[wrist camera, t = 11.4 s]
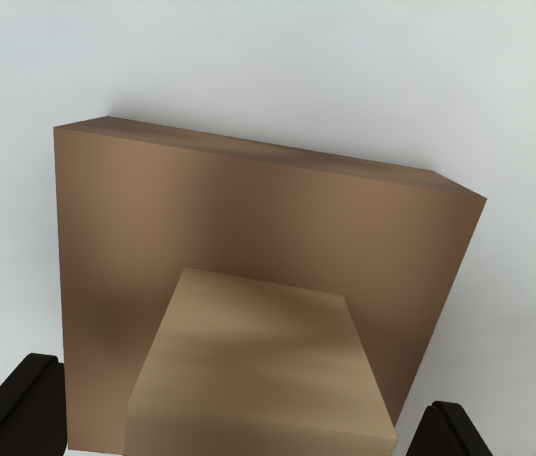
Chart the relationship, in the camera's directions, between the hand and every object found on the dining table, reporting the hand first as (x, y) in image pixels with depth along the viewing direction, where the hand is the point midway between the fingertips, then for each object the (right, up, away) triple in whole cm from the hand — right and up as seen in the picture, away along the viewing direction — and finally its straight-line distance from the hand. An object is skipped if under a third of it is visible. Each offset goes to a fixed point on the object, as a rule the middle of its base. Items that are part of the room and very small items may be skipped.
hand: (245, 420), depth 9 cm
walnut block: (0, +3, +6) cm, 7 cm away
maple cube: (0, +1, +3) cm, 3 cm away
